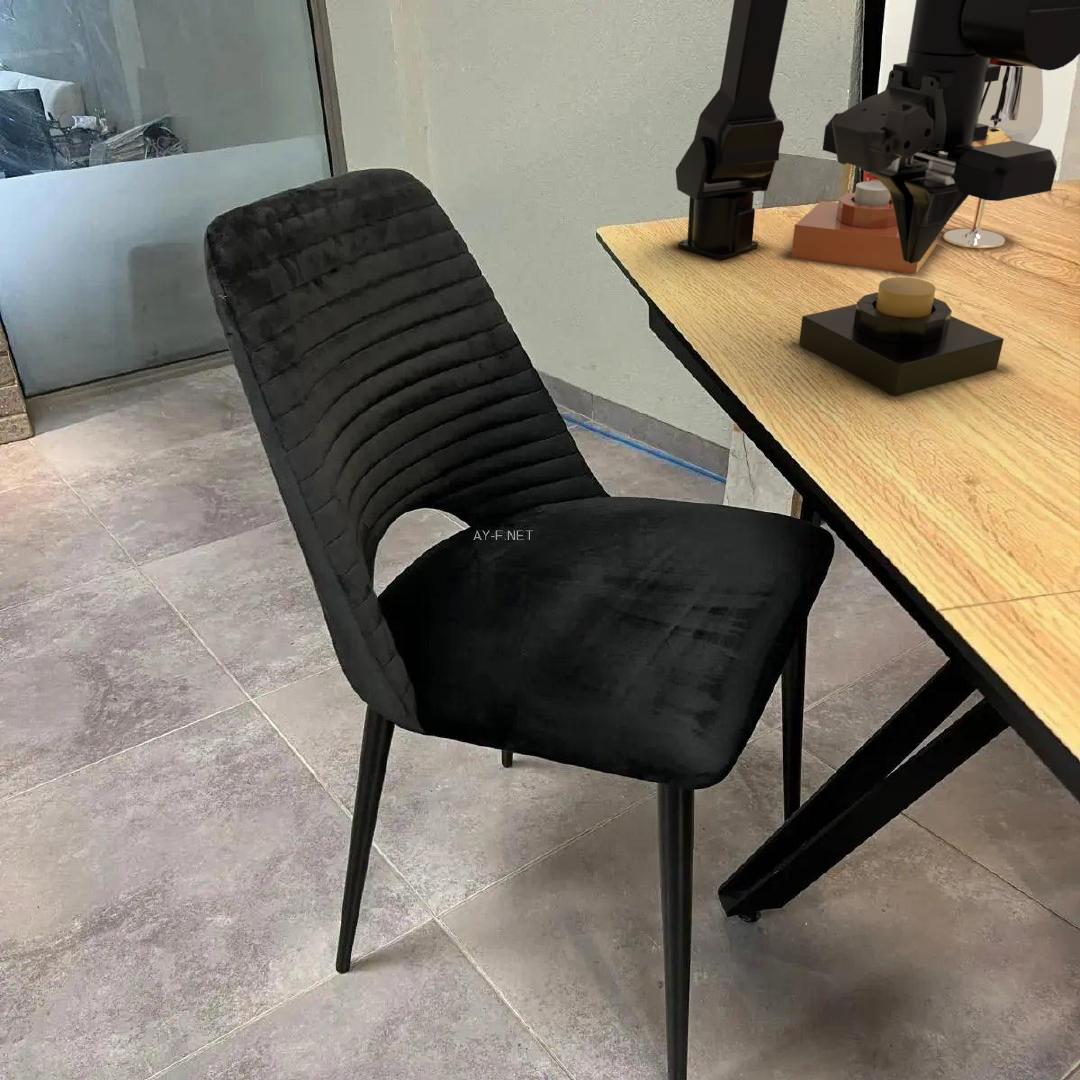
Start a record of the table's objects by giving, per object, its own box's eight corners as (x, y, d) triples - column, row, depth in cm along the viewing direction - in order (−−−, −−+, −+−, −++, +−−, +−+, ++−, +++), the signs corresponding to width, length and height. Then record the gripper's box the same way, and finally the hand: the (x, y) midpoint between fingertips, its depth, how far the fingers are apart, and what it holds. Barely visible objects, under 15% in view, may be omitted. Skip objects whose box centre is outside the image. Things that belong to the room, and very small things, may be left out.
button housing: (791, 257, 110) (796, 205, 107) (817, 231, 117) (823, 182, 114) (915, 274, 104) (925, 220, 101) (935, 246, 112) (945, 195, 109)
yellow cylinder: (864, 307, 86) (868, 282, 85) (904, 298, 88) (908, 273, 86) (901, 324, 83) (905, 299, 81) (942, 314, 84) (947, 289, 83)
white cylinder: (849, 206, 107) (852, 187, 106) (858, 198, 110) (861, 179, 109) (884, 210, 106) (887, 191, 105) (892, 202, 108) (895, 183, 107)
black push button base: (798, 345, 90) (804, 295, 87) (895, 322, 94) (903, 274, 91) (894, 397, 81) (903, 343, 78) (997, 369, 85) (1009, 317, 82)
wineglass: (925, 229, 117) (957, 56, 107) (998, 228, 117) (1037, 54, 107) (947, 251, 110) (983, 69, 100) (1024, 250, 110) (1068, 67, 100)
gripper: (779, 44, 78) (760, 246, 87) (962, 79, 64) (917, 317, 73) (892, 31, 82) (863, 226, 91) (1088, 63, 68) (1031, 289, 77)
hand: (911, 261), depth 83 cm, fingers closed
